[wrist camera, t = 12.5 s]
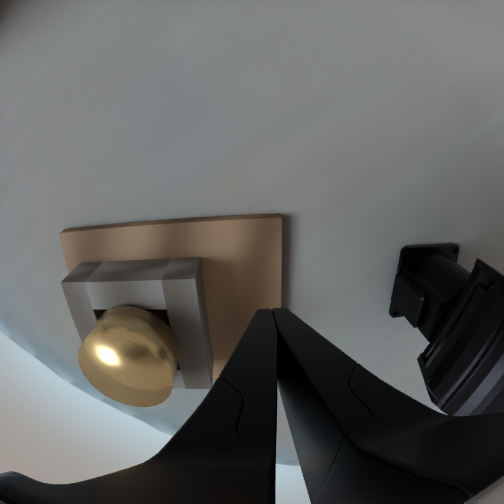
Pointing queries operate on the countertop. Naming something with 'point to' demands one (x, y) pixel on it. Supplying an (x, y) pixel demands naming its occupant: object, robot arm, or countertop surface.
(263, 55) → the countertop surface
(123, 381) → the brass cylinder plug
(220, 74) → the countertop surface
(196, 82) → the countertop surface
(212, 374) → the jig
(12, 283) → the countertop surface
